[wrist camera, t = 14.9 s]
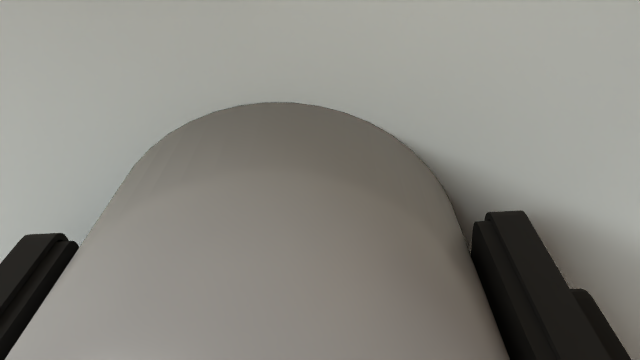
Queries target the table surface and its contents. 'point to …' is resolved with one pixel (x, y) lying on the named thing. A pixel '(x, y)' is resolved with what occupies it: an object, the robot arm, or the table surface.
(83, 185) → the table surface
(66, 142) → the table surface
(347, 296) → the grey rounded blob
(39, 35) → the table surface
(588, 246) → the table surface
